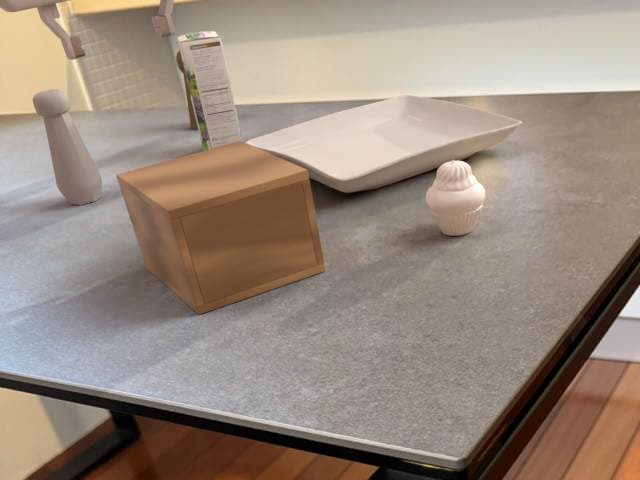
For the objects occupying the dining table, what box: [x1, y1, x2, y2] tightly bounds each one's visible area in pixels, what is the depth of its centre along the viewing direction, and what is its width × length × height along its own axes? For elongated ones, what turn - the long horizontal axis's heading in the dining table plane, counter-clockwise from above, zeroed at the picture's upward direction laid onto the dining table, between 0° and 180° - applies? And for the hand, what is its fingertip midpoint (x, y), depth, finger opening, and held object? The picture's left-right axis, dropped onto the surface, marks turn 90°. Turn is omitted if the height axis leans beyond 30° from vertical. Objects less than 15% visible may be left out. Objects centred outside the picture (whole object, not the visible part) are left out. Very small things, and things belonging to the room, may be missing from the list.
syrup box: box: [177, 30, 243, 151], centre depth 116 cm, size 6×6×14 cm
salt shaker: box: [32, 88, 103, 206], centre depth 103 cm, size 6×6×13 cm
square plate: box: [244, 94, 523, 194], centre depth 106 cm, size 27×27×4 cm
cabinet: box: [115, 140, 326, 315], centre depth 80 cm, size 16×14×10 cm
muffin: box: [425, 160, 486, 237], centre depth 82 cm, size 6×6×7 cm
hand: (122, 47), depth 81 cm, fingers open, 8 cm apart
